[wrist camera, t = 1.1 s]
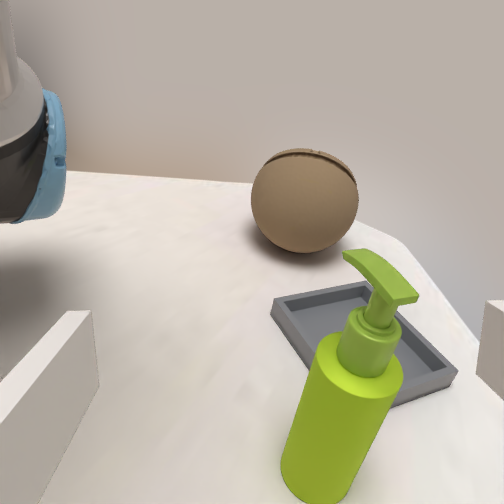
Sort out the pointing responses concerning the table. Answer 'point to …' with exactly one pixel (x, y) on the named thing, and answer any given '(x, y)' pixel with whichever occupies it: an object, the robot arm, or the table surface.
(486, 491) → the table surface
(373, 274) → the soap dispenser
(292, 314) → the tray
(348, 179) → the tan ball
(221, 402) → the table surface
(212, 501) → the table surface
